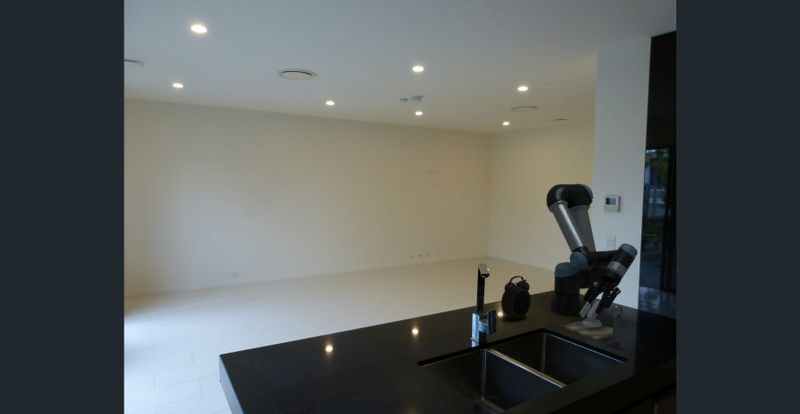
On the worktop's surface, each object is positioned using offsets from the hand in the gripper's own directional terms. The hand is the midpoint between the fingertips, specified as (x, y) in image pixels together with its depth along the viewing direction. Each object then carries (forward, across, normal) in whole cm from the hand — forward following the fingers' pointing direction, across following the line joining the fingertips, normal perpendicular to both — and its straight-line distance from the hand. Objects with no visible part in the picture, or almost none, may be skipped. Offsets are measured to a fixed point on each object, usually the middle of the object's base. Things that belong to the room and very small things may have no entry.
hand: (586, 317), depth 171 cm
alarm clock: (+15, +26, +5) cm, 31 cm away
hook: (0, 0, -5) cm, 5 cm away
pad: (+2, 0, -7) cm, 8 cm away
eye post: (+6, -15, -4) cm, 16 cm away
